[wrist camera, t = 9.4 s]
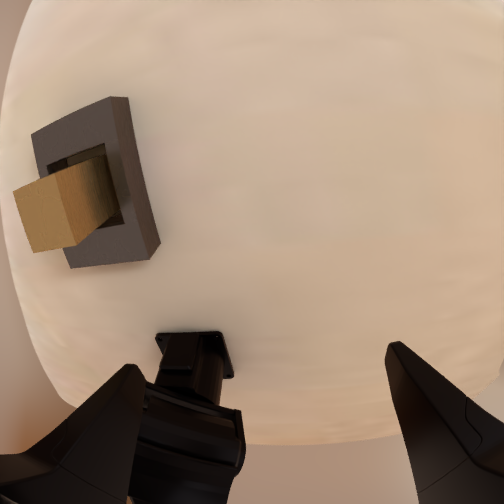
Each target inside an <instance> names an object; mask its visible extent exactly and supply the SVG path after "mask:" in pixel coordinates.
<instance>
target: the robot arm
mask: <svg viewBox="0 0 504 504" xmlns="http://www.w3.org/2000/svg"><path fill="white" fill-rule="evenodd" d="M216 336H218V337H216ZM155 340H156V342H157V344H158V346H159V348H160V350H161V352H162V354H163V356H162V359H161V362H160V365H159V371H158V374H157V377H156V380H155V383H154V384H153V383H150V382H148V381H147V380H146V379H145V377H144V375H143V374H142V372H141V371H140V369H139V368H138V366H137V365H136V364H125V365H124V366H123V367H122V368H121V369H120V370H119V371H117V372H116V373H115V374H114V375H113V376H112V377H111V378H110V379H109V380H108V381H107V382H105V383H104V384H103V385H102V386H101V387H100V388H99V389H98V390H97V391H96V392H95V393H94V394H92V395H91V396H90V397H89V398H88V399H87V400H86V401H85V402H84V403H83V404H82V405H81V406H79V407H78V408H77V409H76V410H75V411H74V412H73V413H72V414H71V415H70V416H69V417H68V418H67V419H65V420H64V421H63V422H62V423H61V424H60V425H59V426H58V427H56V428H55V429H54V430H53V431H52V432H51V433H49V434H48V435H47V436H45V437H44V438H43V439H41V440H40V441H39V442H37V443H36V444H35V445H33V446H32V447H31V448H29V449H28V450H26V451H25V452H22V453H19V454H5V455H0V504H126V501H127V496H129V497H130V499H131V501H132V504H227V500H228V495H229V491H230V487H231V484H232V482H233V479H234V477H236V476H237V475H238V474H239V472H240V470H241V468H242V466H243V463H244V459H245V454H246V443H245V436H244V429H243V422H242V414H241V410H237V409H234V410H233V409H229V408H225V407H222V406H219V404H220V396H221V389H222V381H223V379H231V378H233V377H234V370H233V367H232V364H231V360H230V357H229V354H228V350H227V347H226V344H225V340H224V337H223V334H222V333H221V332H219V331H210V332H183V333H157V335H156V337H155ZM385 367H386V371H387V376H388V381H389V386H390V391H391V396H392V401H393V404H394V407H395V411H396V414H397V417H398V420H399V424H400V427H401V431H402V434H403V438H404V441H405V445H406V448H407V452H408V456H409V460H410V464H411V468H412V472H413V476H414V481H415V485H416V490H417V493H418V494H417V495H418V500H419V504H504V423H503V422H501V421H500V420H498V419H497V418H495V417H494V416H492V415H491V414H489V413H488V412H486V411H485V410H484V409H482V408H481V407H480V406H479V405H477V404H476V403H475V402H474V401H473V400H471V399H470V398H469V397H466V395H465V394H464V393H463V392H462V391H461V390H459V389H458V388H457V387H456V386H455V385H453V384H452V383H451V382H450V381H449V380H447V379H446V378H445V377H444V376H443V375H441V374H440V373H439V372H438V371H437V370H435V369H434V368H433V367H432V366H431V365H429V364H428V363H427V362H426V361H424V360H423V359H422V358H421V357H420V356H418V355H417V354H416V353H415V352H413V351H412V350H411V349H410V348H408V347H407V346H406V345H405V344H403V343H402V342H401V341H396V342H391V343H389V345H388V348H387V352H386V356H385Z"/></svg>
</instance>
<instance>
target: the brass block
mask: <svg viewBox="0 0 504 504" xmlns="http://www.w3.org/2000/svg"><path fill="white" fill-rule="evenodd" d="M13 194H14V197H15V201H16V204H17V208H18V211H19V214H20V217H21V220H22V223H23V226H24V229H25V232H26V235H27V238H28V240H29V243H30V245H31V248H32V251H33V253H37V252H42V251H48V250H53V249H59V248H65V247H71V246H76V245H78V244H79V243H80V242H81V241H82V240H83V239H85V238H86V237H87V236H88V235H89V234H90V233H92V232H93V231H94V230H95V229H96V228H98V227H99V226H100V225H101V224H102V223H104V222H105V221H106V220H107V219H109V218H110V217H111V216H112V215H114V214H115V213H116V212H117V211H119V210H120V205H119V202H118V198H117V194H116V191H115V187H114V183H113V179H112V175H111V171H110V166H109V162H108V158H107V154H104V155H101V156H98V157H95V158H92V159H89V160H86V161H83V162H80V163H77V164H75V165H72V166H69V167H67V168H64V169H62V170H59V171H57V172H55V173H52V174H50V175H48V176H45V177H43V178H41V179H38V180H36V181H34V182H32V183H30V184H28V185H25V186H23V187H21V188H19V189H17V190H15V191H13Z"/></svg>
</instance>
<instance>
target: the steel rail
mask: <svg viewBox="0 0 504 504" xmlns="http://www.w3.org/2000/svg"><path fill="white" fill-rule="evenodd" d="M31 138H32V143H33V148H34V153H35V158H36V163H37V167H38V171H39V175H40V179H41V178H43V177H45V176H48V175H50V174H52V173H55V172H57V171H59V170H62V169H64V168H67V167H68V165H67V161H66V158H68V157H70V156H73V155H75V154H78V153H81V152H83V151H86V150H89V149H91V148H94V147H97V146H100V145H103V144H105V148H106V153H107V158H108V162H109V166H110V171H111V175H112V179H113V183H114V187H115V191H116V194H117V198H118V202H119V205H120V209H121V212H122V215H117V216H112V217H110V218H109V219H107V220H106V221H105V222H104V223H102V224H101V225H100V226H99V227H98V228H96V229H95V230H94V231H93V232H92V233H90V234H89V235H88V236H87V237H86V238H85V239H83V240H82V241H81V242H80V243H79V244H78V245H76V246H71V247H65V248H63V251H64V253H65V256H66V258H67V261H68V263H69V265H70V268H71V269H72V268H80V267H89V266H98V265H106V264H115V263H124V262H133V261H141V260H150V258H151V257H152V255H153V254H154V252H155V251H156V250H157V248H158V247H159V245H160V244H161V242H160V239H159V235H158V232H157V228H156V224H155V221H154V217H153V213H152V209H151V206H150V202H149V198H148V194H147V190H146V185H145V181H144V177H143V173H142V168H141V164H140V159H139V154H138V150H137V145H136V140H135V135H134V129H133V124H132V118H131V112H130V106H129V100H128V97H112V96H110V97H108V98H105V99H103V100H100V101H98V102H95V103H93V104H91V105H88V106H86V107H84V108H82V109H79V110H77V111H75V112H73V113H71V114H69V115H67V116H65V117H63V118H61V119H59V120H57V121H55V122H53V123H51V124H49V125H47V126H45V127H44V128H42V129H40V130H38V131H36V132H35V133H33V134H31Z"/></svg>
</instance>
